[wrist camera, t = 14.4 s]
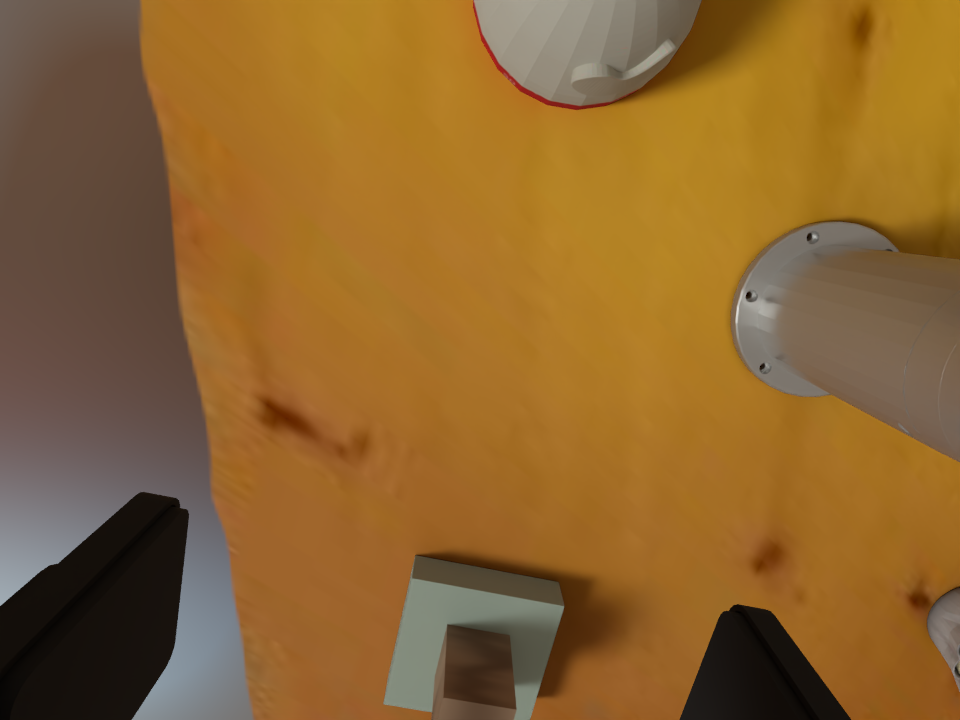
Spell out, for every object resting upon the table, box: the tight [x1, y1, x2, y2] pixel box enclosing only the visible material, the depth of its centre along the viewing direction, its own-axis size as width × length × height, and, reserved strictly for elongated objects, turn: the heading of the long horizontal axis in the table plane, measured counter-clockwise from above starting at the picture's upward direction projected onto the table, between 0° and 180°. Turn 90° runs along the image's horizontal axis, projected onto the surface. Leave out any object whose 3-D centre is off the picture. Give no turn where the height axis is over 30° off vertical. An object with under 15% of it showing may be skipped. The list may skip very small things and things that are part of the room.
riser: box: [384, 555, 564, 720], centre depth 48 cm, size 12×12×3 cm
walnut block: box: [431, 624, 517, 720], centre depth 43 cm, size 5×5×7 cm
